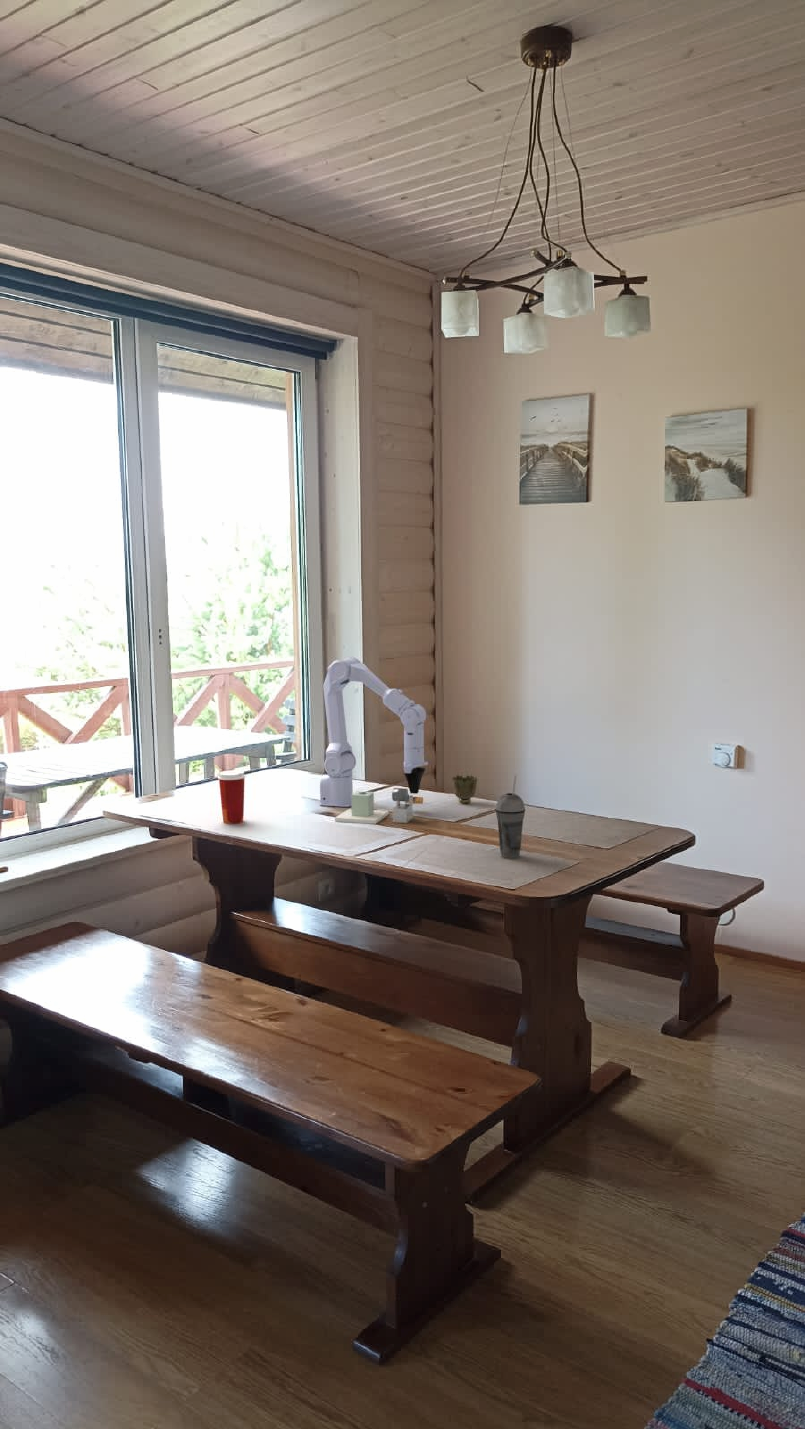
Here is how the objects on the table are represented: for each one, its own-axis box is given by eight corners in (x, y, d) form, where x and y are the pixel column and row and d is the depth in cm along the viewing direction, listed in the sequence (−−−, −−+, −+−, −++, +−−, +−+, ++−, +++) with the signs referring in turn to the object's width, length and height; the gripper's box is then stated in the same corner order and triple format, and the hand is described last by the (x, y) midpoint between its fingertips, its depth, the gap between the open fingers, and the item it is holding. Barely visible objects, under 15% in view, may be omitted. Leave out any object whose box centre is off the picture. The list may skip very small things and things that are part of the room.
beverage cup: (492, 852, 247) (492, 773, 245) (521, 851, 248) (522, 772, 245) (498, 861, 240) (498, 778, 237) (528, 859, 241) (528, 778, 238)
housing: (351, 815, 283) (351, 794, 283) (357, 811, 288) (357, 790, 287) (368, 816, 282) (368, 795, 281) (374, 812, 287) (373, 791, 286)
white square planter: (392, 822, 280) (391, 798, 279) (398, 817, 285) (398, 794, 284) (407, 823, 278) (406, 799, 277) (413, 818, 284) (413, 795, 283)
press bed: (335, 821, 281) (335, 817, 281) (349, 811, 293) (349, 808, 293) (375, 823, 278) (375, 820, 278) (388, 814, 289) (388, 810, 289)
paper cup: (252, 819, 285) (250, 771, 283) (237, 825, 278) (235, 776, 276) (229, 817, 288) (227, 769, 286) (213, 823, 281) (211, 774, 279)
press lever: (389, 800, 277) (390, 787, 278) (406, 804, 294) (407, 792, 294) (406, 801, 276) (407, 788, 277) (422, 805, 292) (423, 792, 293)
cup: (477, 800, 305) (477, 774, 304) (477, 806, 298) (476, 779, 297) (453, 800, 306) (452, 774, 305) (451, 805, 299) (451, 779, 298)
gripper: (420, 751, 283) (420, 799, 284) (433, 743, 296) (434, 788, 298) (396, 750, 285) (396, 797, 286) (410, 742, 298) (411, 787, 300)
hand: (414, 793), depth 293 cm, fingers closed
